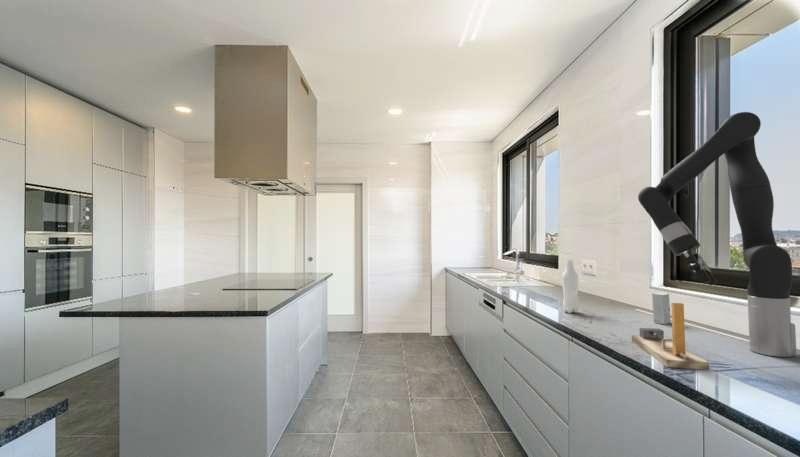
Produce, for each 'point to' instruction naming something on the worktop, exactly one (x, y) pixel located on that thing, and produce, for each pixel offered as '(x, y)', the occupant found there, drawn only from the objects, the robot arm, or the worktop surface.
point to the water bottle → (570, 288)
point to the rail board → (670, 354)
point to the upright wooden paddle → (677, 331)
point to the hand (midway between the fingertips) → (710, 283)
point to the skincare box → (661, 308)
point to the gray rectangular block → (651, 333)
